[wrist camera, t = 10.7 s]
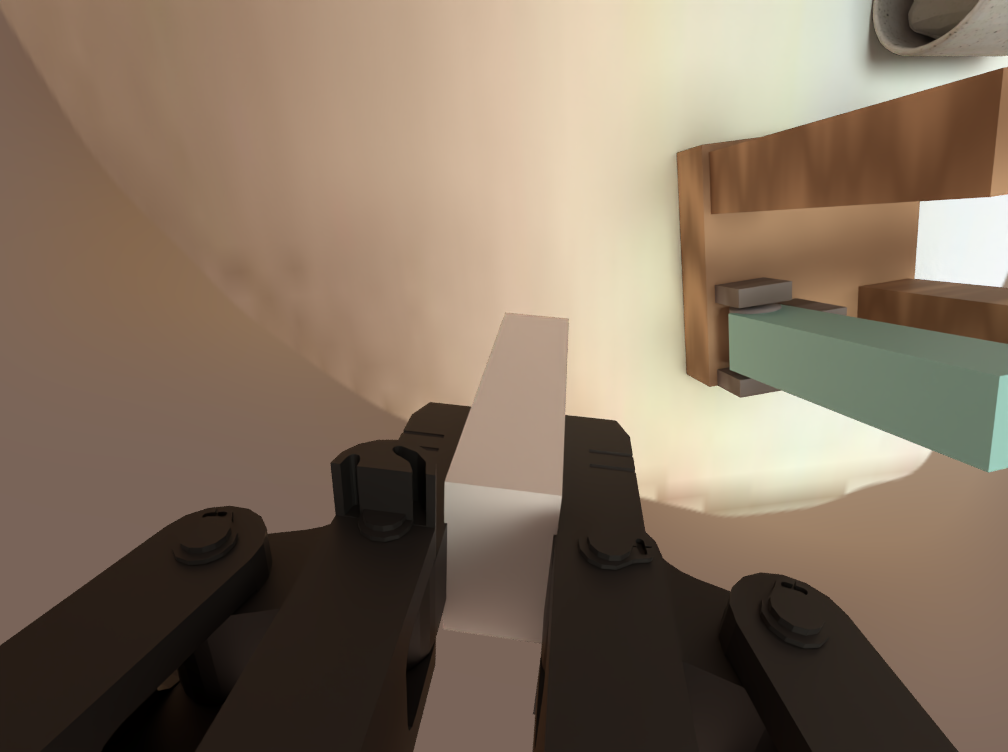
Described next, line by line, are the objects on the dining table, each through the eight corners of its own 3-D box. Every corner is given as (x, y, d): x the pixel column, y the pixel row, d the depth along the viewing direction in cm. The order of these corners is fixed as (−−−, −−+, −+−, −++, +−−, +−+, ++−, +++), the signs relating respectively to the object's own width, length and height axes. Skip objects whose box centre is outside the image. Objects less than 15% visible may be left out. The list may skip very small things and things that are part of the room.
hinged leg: (714, 308, 31) (1000, 373, 16) (765, 299, 31) (1086, 354, 17) (716, 366, 32) (987, 475, 17) (765, 356, 32) (1070, 455, 18)
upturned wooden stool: (677, 152, 32) (991, 52, 14) (882, 125, 33) (1414, 0, 15) (686, 374, 35) (945, 517, 18) (871, 342, 36) (1289, 447, 19)
